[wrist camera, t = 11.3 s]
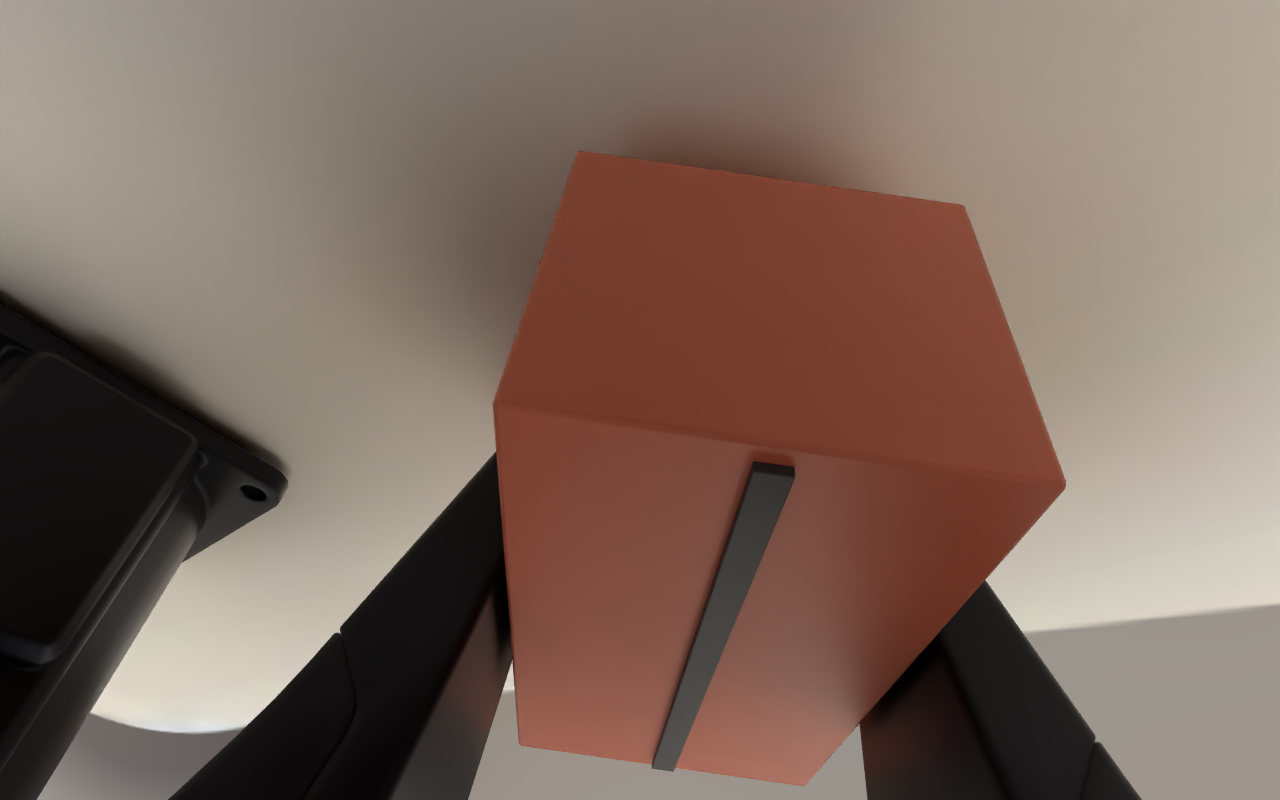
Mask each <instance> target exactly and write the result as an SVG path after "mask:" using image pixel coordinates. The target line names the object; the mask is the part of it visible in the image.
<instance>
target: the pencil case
mask: <svg viewBox="0 0 1280 800" xmlns="http://www.w3.org/2000/svg"><path fill="white" fill-rule="evenodd" d="M493 414H494V427H495V440H496V453H497V466H498V479H499V492H500V505H501V518H502V531H503V544H504V557H505V570H506V583H507V595H508V608H509V621H510V634H511V647H512V660H513V673H514V686H515V699H516V712H517V725H518V738H519V744H520V745H521V746H527V747H534V748H541V749H548V750H555V751H562V752H569V753H576V754H583V755H590V756H597V757H603V758H610V759H617V760H624V761H631V762H639V763H645V764H652V768H653V769H659V770H666V771H674V769H675V768H680V769H687V770H694V771H701V772H708V773H715V774H722V775H729V776H736V777H742V778H749V779H756V780H763V781H770V782H777V783H785V784H791V785H798V786H805V785H806V784H807V783H808V781H809V780H810V779H811V778H812V777H813V776H814V775H815V773H816V772H817V771H818V770H819V769H820V768H821V767H822V766H823V764H824V763H825V762H826V761H827V760H828V759H829V758H830V756H831V755H832V754H833V753H834V752H835V751H836V750H837V748H838V747H839V746H840V745H841V744H842V743H843V742H844V740H845V739H846V738H847V737H848V736H849V735H850V734H851V732H852V731H853V730H854V729H855V728H856V727H857V726H858V724H859V723H860V722H861V721H862V720H863V719H864V718H865V717H866V715H867V714H868V713H869V712H870V711H871V710H872V709H873V707H874V706H875V705H876V704H877V703H878V702H879V701H880V699H881V698H882V697H883V696H884V695H885V694H886V693H887V691H888V690H889V689H890V688H891V687H892V686H893V685H894V683H895V682H896V681H897V680H898V679H899V678H900V677H901V675H902V674H903V673H904V672H905V671H906V670H907V669H908V667H909V666H910V665H911V664H912V663H913V662H914V661H915V659H916V658H917V657H918V656H919V655H920V654H921V653H922V651H923V650H924V649H925V648H926V647H927V646H928V645H929V643H930V642H931V641H932V640H933V639H934V638H935V637H936V635H937V634H938V633H939V632H940V631H941V630H942V629H943V627H944V626H945V625H946V624H947V623H948V622H949V621H950V619H951V618H952V617H953V616H954V615H955V614H956V613H957V611H958V610H959V609H960V608H961V607H962V606H963V605H964V603H965V602H966V601H967V600H968V599H969V598H970V597H971V595H972V594H973V593H974V592H975V591H976V590H977V589H978V587H979V586H980V585H981V584H982V583H983V582H984V581H985V579H986V578H987V577H988V576H989V575H990V574H991V573H992V571H993V570H994V569H995V568H996V567H997V566H998V565H999V564H1000V562H1001V561H1002V560H1003V559H1004V558H1005V557H1006V556H1007V554H1008V553H1009V552H1010V551H1011V550H1012V549H1013V548H1014V546H1015V545H1016V544H1017V543H1018V542H1019V541H1020V540H1021V538H1022V537H1023V536H1024V535H1025V534H1026V533H1027V532H1028V530H1029V529H1030V528H1031V527H1032V526H1033V525H1034V524H1035V522H1036V521H1037V520H1038V519H1039V518H1040V517H1041V516H1042V514H1043V513H1044V512H1045V511H1046V510H1047V509H1048V508H1049V506H1050V505H1051V504H1052V503H1053V502H1054V501H1055V500H1056V498H1057V497H1058V496H1059V495H1060V494H1061V493H1062V492H1063V490H1064V489H1065V486H1066V480H1065V478H1064V475H1063V472H1062V470H1061V467H1060V464H1059V461H1058V459H1057V456H1056V453H1055V451H1054V448H1053V445H1052V442H1051V440H1050V437H1049V434H1048V432H1047V429H1046V426H1045V423H1044V421H1043V418H1042V415H1041V413H1040V410H1039V407H1038V405H1037V402H1036V399H1035V396H1034V394H1033V391H1032V388H1031V386H1030V383H1029V380H1028V377H1027V375H1026V372H1025V369H1024V367H1023V364H1022V361H1021V358H1020V356H1019V353H1018V350H1017V348H1016V345H1015V342H1014V339H1013V337H1012V334H1011V331H1010V329H1009V326H1008V323H1007V321H1006V318H1005V315H1004V312H1003V310H1002V307H1001V304H1000V302H999V299H998V296H997V293H996V291H995V288H994V285H993V283H992V280H991V277H990V274H989V272H988V269H987V266H986V264H985V261H984V258H983V255H982V253H981V250H980V247H979V245H978V242H977V239H976V236H975V234H974V231H973V228H972V226H971V223H970V220H969V218H968V215H967V212H966V209H965V207H964V206H962V205H960V204H953V203H946V202H939V201H932V200H925V199H918V198H911V197H904V196H897V195H889V194H882V193H875V192H868V191H861V190H854V189H847V188H840V187H833V186H826V185H819V184H812V183H805V182H798V181H790V180H783V179H776V178H769V177H762V176H755V175H748V174H741V173H734V172H727V171H720V170H713V169H706V168H699V167H691V166H684V165H677V164H670V163H663V162H656V161H649V160H642V159H635V158H628V157H621V156H614V155H607V154H599V153H592V152H585V151H579V152H577V154H576V156H575V159H574V162H573V165H572V168H571V171H570V174H569V177H568V180H567V183H566V186H565V189H564V192H563V195H562V198H561V201H560V204H559V207H558V210H557V213H556V216H555V219H554V222H553V225H552V228H551V231H550V234H549V237H548V240H547V243H546V246H545V249H544V252H543V255H542V258H541V261H540V264H539V267H538V270H537V273H536V276H535V279H534V282H533V285H532V288H531V291H530V294H529V297H528V300H527V303H526V306H525V309H524V312H523V315H522V318H521V320H520V323H519V326H518V329H517V332H516V335H515V338H514V341H513V344H512V347H511V350H510V353H509V356H508V359H507V362H506V365H505V368H504V371H503V374H502V377H501V380H500V383H499V386H498V389H497V392H496V395H495V398H494V401H493Z"/></svg>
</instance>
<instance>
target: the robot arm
mask: <svg viewBox="0 0 1280 800" xmlns="http://www.w3.org/2000/svg"><path fill="white" fill-rule="evenodd" d="M287 487H288V480H287V479H286V477H285V476H284V475H283V474H282V473H281V472H280V471H278V470H277V469H276V468H274V467H273V466H271V465H269V464H267V463H266V462H264V461H262V460H261V459H259V458H257V457H256V456H254V455H252V454H251V453H249V452H247V451H246V450H244V449H242V448H241V447H239V446H237V445H236V444H234V443H232V442H231V441H229V440H227V439H226V438H224V437H222V436H221V435H219V434H217V433H216V432H214V431H212V430H211V429H209V428H207V427H206V426H204V425H202V424H201V423H199V422H197V421H196V420H194V419H192V418H191V417H189V416H187V415H186V414H184V413H182V412H181V411H179V410H177V409H176V408H174V407H172V406H171V405H169V404H167V403H166V402H164V401H162V400H161V399H159V398H157V397H155V396H154V395H152V394H150V393H149V392H147V391H145V390H144V389H142V388H140V387H139V386H137V385H135V384H134V383H132V382H130V381H129V380H127V379H125V378H124V377H122V376H120V375H119V374H117V373H115V372H114V371H112V370H110V369H109V368H107V367H105V366H104V365H102V364H100V363H99V362H97V361H95V360H94V359H92V358H90V357H89V356H87V355H85V354H84V353H82V352H80V351H79V350H77V349H75V348H74V347H72V346H70V345H69V344H67V343H65V342H64V341H62V340H60V339H59V338H57V337H55V336H54V335H52V334H50V333H48V332H47V331H45V330H43V329H42V328H40V327H38V326H37V325H35V324H33V323H32V322H30V321H28V320H27V319H25V318H23V317H22V316H20V315H18V314H17V313H15V312H13V311H12V310H10V309H8V308H7V307H5V306H3V305H2V304H0V800H37V798H38V796H39V795H40V793H41V792H42V790H43V788H44V787H45V785H46V783H47V782H48V780H49V778H50V777H51V775H52V773H53V772H54V770H55V769H56V767H57V765H58V764H59V762H60V760H61V759H62V757H63V756H64V754H65V752H66V751H67V749H68V747H69V746H70V744H71V742H72V741H73V739H74V738H75V736H76V734H77V733H78V731H79V729H80V728H81V726H82V724H83V723H84V721H85V719H86V718H87V716H88V715H89V713H90V711H91V710H92V708H93V706H94V705H95V703H96V702H97V700H98V698H99V697H100V695H101V693H102V692H103V690H104V688H105V687H106V685H107V684H108V682H109V680H110V679H111V677H112V675H113V674H114V672H115V670H116V669H117V667H118V666H119V664H120V662H121V661H122V659H123V657H124V656H125V654H126V652H127V651H128V649H129V648H130V646H131V644H132V643H133V641H134V639H135V638H136V636H137V634H138V633H139V631H140V630H141V628H142V626H143V625H144V623H145V621H146V620H147V618H148V616H149V615H150V613H151V612H152V610H153V608H154V607H155V605H156V603H157V602H158V600H159V598H160V597H161V595H162V594H163V592H164V590H165V589H166V587H167V585H168V584H169V582H170V580H171V579H172V577H173V576H174V574H175V572H176V571H177V569H178V567H179V566H180V564H181V563H182V562H184V561H185V560H187V559H189V558H190V557H192V556H194V555H195V554H197V553H199V552H200V551H202V550H204V549H205V548H207V547H209V546H210V545H212V544H214V543H215V542H217V541H219V540H220V539H222V538H224V537H225V536H227V535H229V534H230V533H232V532H234V531H235V530H237V529H239V528H240V527H242V526H244V525H245V524H247V523H249V522H250V521H252V520H254V519H255V518H257V517H259V516H260V515H262V514H264V513H265V512H267V511H269V510H270V509H272V508H274V507H275V506H277V504H278V503H279V502H280V500H281V498H282V496H283V494H284V493H285V491H286V489H287ZM340 632H341V634H340V633H335V634H333V636H332V637H331V638H330V639H329V640H328V641H327V642H326V643H325V645H324V646H323V647H322V648H321V649H320V650H319V651H318V653H317V654H316V655H315V656H314V657H313V658H312V659H311V660H310V662H309V663H308V664H307V665H306V666H305V667H304V668H303V669H302V670H301V671H300V672H299V673H298V674H297V675H296V677H295V678H294V679H293V680H292V681H291V682H290V683H289V684H288V685H287V686H286V687H285V688H284V689H283V690H282V691H281V693H280V694H279V695H278V696H277V697H276V698H275V699H274V700H273V701H272V702H271V703H270V704H269V705H268V706H267V707H266V708H265V709H264V710H263V711H262V712H261V713H260V714H259V715H258V716H257V717H255V718H254V719H253V720H252V721H251V722H250V723H249V724H248V725H247V726H246V727H245V728H244V729H243V730H242V731H241V732H240V733H239V734H238V735H237V736H236V737H235V738H234V739H233V740H232V741H231V742H230V743H229V744H228V745H227V746H226V747H224V748H223V749H222V750H221V751H220V752H219V753H218V754H217V755H216V756H215V757H214V758H213V759H211V760H210V761H209V762H208V763H207V764H206V765H205V766H204V767H203V768H202V769H201V770H200V771H199V772H197V773H196V774H195V775H194V776H193V777H192V778H191V779H190V780H189V781H188V782H187V783H186V784H185V785H183V786H182V787H181V788H180V789H179V790H178V791H177V792H176V793H175V794H174V795H173V796H172V797H170V798H169V799H168V800H468V797H469V795H470V791H471V788H472V785H473V781H474V779H475V775H476V772H477V769H478V766H479V763H480V760H481V757H482V753H483V750H484V747H485V744H486V741H487V738H488V735H489V731H490V728H491V725H492V722H493V719H494V716H495V712H496V709H497V706H498V703H499V700H500V697H501V694H502V690H503V687H504V684H505V681H506V678H507V675H508V672H509V668H510V665H511V662H512V647H511V634H510V621H509V608H508V595H507V583H506V570H505V557H504V544H503V531H502V518H501V505H500V492H499V479H498V466H497V453H496V452H495V453H494V454H493V455H492V457H491V458H490V459H489V460H488V461H487V462H486V463H485V464H484V466H483V467H482V468H481V469H480V470H479V471H478V472H477V473H476V475H475V476H474V477H473V478H472V479H471V480H470V481H469V483H468V484H467V485H466V486H465V487H464V488H463V489H462V490H461V492H460V493H459V494H458V495H457V496H456V497H455V498H454V499H453V501H452V502H451V503H450V504H449V505H448V506H447V507H446V508H445V510H444V511H443V512H442V513H441V514H440V515H439V516H438V517H437V519H436V520H435V521H434V522H433V523H432V524H431V525H430V527H429V528H428V529H427V530H426V531H425V532H424V533H423V534H422V536H421V537H420V538H419V539H418V540H417V541H416V542H415V543H414V545H413V546H412V547H411V548H410V549H409V550H408V551H407V552H406V554H405V555H404V556H403V557H402V558H401V559H400V560H399V562H398V563H397V564H396V565H395V566H394V567H393V568H392V569H391V571H390V572H389V573H388V574H387V575H386V576H385V577H384V578H383V580H382V581H381V582H380V583H379V584H378V585H377V586H376V587H375V589H374V590H373V591H372V592H371V593H370V594H369V595H368V596H367V598H366V599H365V600H364V601H363V602H362V603H361V604H360V606H359V607H358V608H357V609H356V610H355V611H354V612H353V613H352V615H351V616H350V617H349V618H348V619H347V620H346V621H345V622H344V624H343V625H342V626H341V628H340ZM860 732H861V741H862V751H863V760H864V770H865V779H866V789H867V799H868V800H1141V798H1140V796H1139V795H1138V794H1137V792H1136V791H1135V790H1134V788H1133V787H1132V786H1131V784H1130V783H1129V782H1128V780H1127V779H1126V778H1125V776H1124V775H1123V773H1122V772H1121V771H1120V769H1119V768H1118V766H1117V765H1116V763H1115V762H1114V761H1113V759H1112V758H1111V756H1110V755H1109V754H1108V752H1107V751H1106V749H1105V748H1104V747H1103V745H1102V744H1101V743H1100V742H1095V734H1094V733H1093V732H1092V730H1091V729H1090V727H1089V726H1088V725H1087V723H1086V722H1085V720H1084V719H1083V717H1082V716H1081V714H1080V713H1079V712H1078V710H1077V709H1076V707H1075V706H1074V705H1073V703H1072V702H1071V700H1070V699H1069V698H1068V696H1067V695H1066V693H1065V692H1064V691H1063V689H1062V688H1061V686H1060V685H1059V683H1058V682H1057V681H1056V679H1055V678H1054V676H1053V675H1052V673H1051V672H1050V671H1049V669H1048V668H1047V666H1046V665H1045V664H1044V662H1043V661H1042V659H1041V658H1040V657H1039V655H1038V654H1037V652H1036V651H1035V650H1034V648H1033V647H1032V646H1031V644H1030V642H1029V641H1028V640H1027V638H1026V637H1025V635H1024V634H1023V633H1022V631H1021V630H1020V628H1019V627H1018V625H1017V624H1016V623H1015V621H1014V620H1013V618H1012V617H1011V616H1010V614H1009V613H1008V611H1007V610H1006V609H1005V607H1004V606H1003V604H1002V603H1001V601H1000V600H999V599H998V597H997V596H996V594H995V593H994V592H993V590H992V589H991V587H990V586H989V584H988V583H987V582H986V580H985V581H984V582H983V583H982V584H981V585H980V586H979V587H978V589H977V590H976V591H975V592H974V593H973V594H972V595H971V597H970V598H969V599H968V600H967V601H966V602H965V603H964V605H963V606H962V607H961V608H960V609H959V610H958V611H957V613H956V614H955V615H954V616H953V617H952V618H951V619H950V621H949V622H948V623H947V624H946V625H945V626H944V627H943V629H942V630H941V631H940V632H939V633H938V634H937V635H936V637H935V638H934V639H933V640H932V641H931V642H930V643H929V645H928V646H927V647H926V648H925V649H924V650H923V651H922V653H921V654H920V655H919V656H918V657H917V658H916V659H915V661H914V662H913V663H912V664H911V665H910V666H909V667H908V669H907V670H906V671H905V672H904V673H903V674H902V675H901V677H900V678H899V679H898V680H897V681H896V682H895V683H894V685H893V686H892V687H891V688H890V689H889V690H888V691H887V693H886V694H885V695H884V696H883V697H882V698H881V699H880V701H879V702H878V703H877V704H876V705H875V706H874V707H873V709H872V710H871V711H870V712H869V713H868V714H867V715H866V717H865V718H864V719H863V720H862V721H861V722H860Z"/></svg>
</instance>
